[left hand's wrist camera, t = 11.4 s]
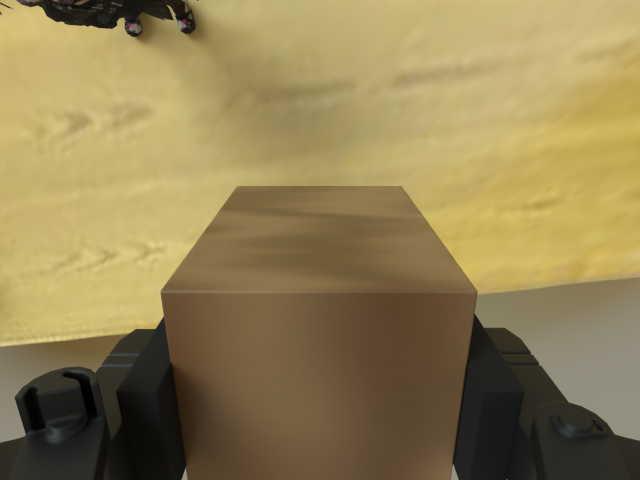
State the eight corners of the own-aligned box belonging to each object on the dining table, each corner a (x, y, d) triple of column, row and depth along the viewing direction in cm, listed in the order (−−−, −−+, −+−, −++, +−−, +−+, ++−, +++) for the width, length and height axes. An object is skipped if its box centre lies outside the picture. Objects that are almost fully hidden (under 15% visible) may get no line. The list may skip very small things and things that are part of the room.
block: (246, 330, 18) (192, 520, 10) (236, 185, 16) (158, 291, 8) (392, 330, 18) (445, 520, 10) (402, 185, 16) (478, 291, 8)
